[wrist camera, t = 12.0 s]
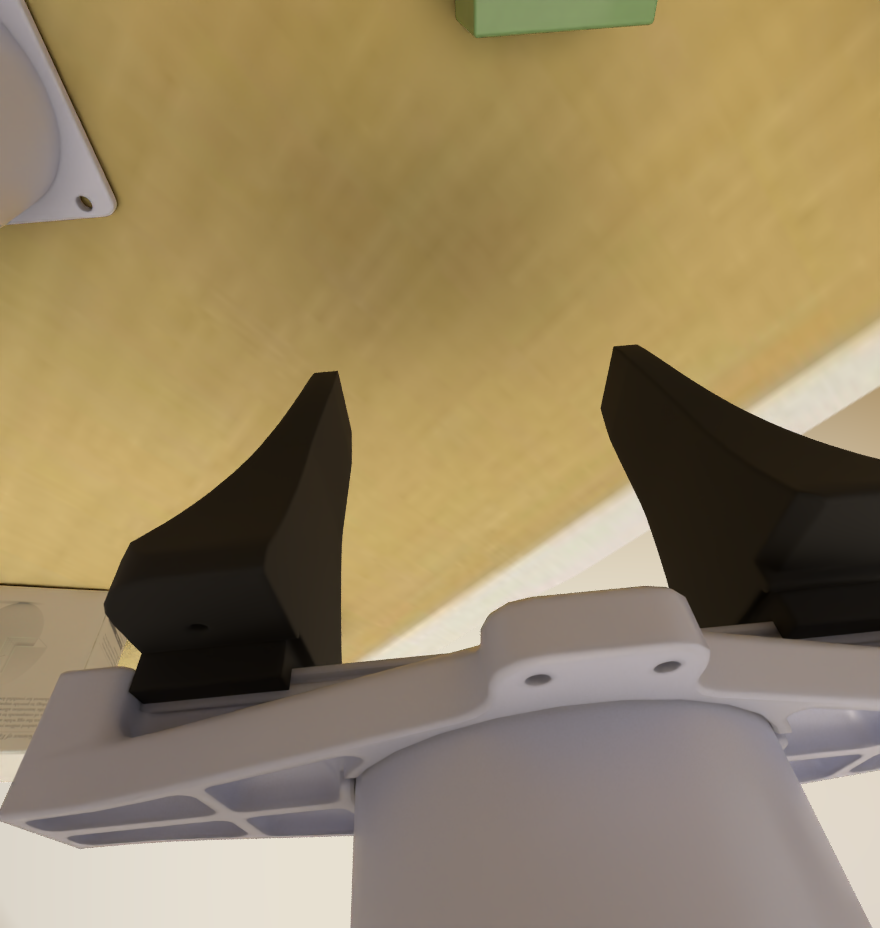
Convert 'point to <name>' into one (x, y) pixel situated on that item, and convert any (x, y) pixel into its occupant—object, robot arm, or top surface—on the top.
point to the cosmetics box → (45, 655)
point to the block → (550, 15)
